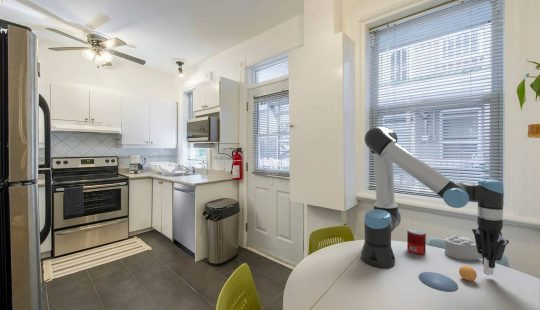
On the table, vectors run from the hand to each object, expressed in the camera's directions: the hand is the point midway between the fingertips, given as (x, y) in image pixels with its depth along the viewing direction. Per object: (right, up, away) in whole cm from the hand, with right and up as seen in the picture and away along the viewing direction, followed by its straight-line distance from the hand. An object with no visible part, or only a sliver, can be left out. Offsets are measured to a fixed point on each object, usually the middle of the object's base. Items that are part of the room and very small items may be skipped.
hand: (488, 273), depth 95 cm
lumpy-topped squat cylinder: (+5, -1, +20) cm, 21 cm away
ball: (-9, +1, -1) cm, 9 cm away
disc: (-22, -2, -1) cm, 22 cm away
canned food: (-14, -1, +24) cm, 28 cm away
